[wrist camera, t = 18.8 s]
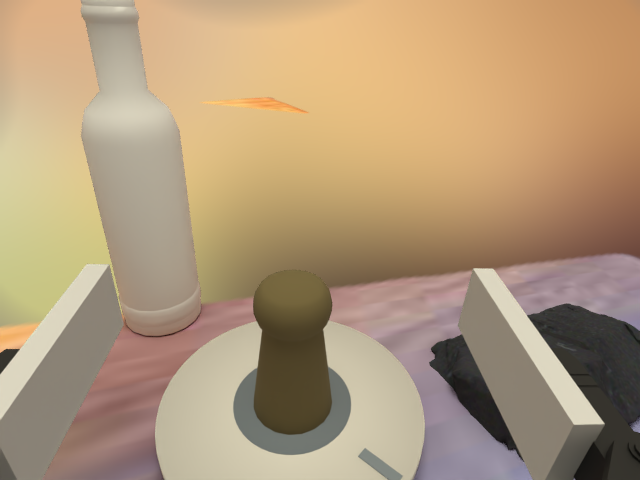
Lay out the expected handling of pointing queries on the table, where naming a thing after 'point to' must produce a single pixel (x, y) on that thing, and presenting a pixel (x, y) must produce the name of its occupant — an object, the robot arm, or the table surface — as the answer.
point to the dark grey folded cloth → (558, 332)
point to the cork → (292, 352)
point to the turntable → (280, 449)
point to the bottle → (138, 178)
